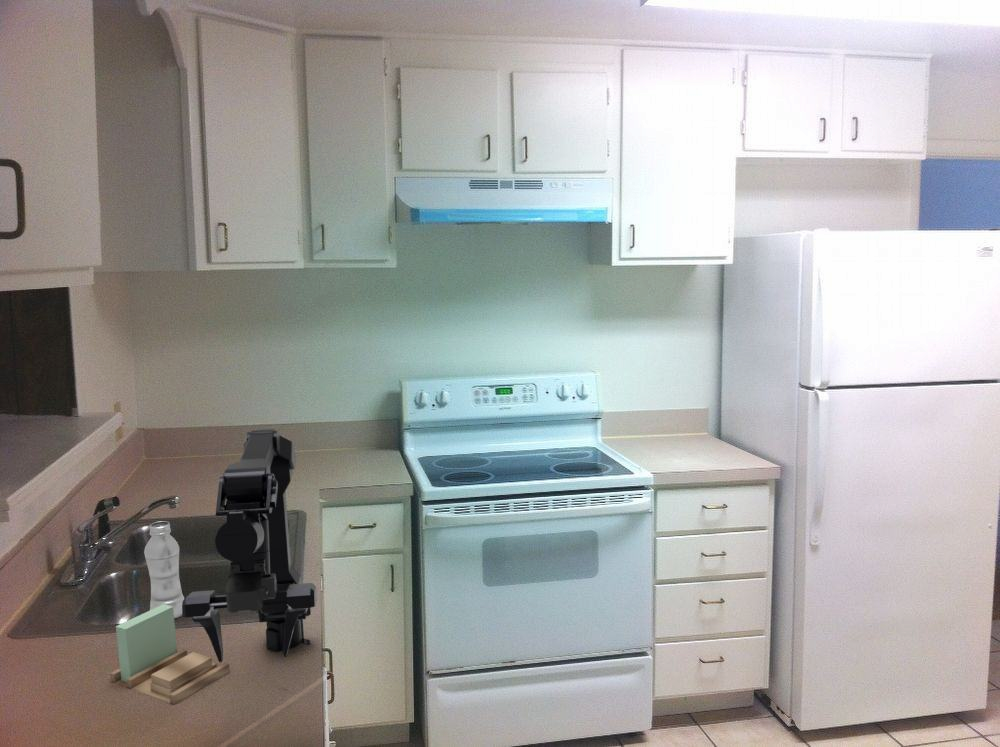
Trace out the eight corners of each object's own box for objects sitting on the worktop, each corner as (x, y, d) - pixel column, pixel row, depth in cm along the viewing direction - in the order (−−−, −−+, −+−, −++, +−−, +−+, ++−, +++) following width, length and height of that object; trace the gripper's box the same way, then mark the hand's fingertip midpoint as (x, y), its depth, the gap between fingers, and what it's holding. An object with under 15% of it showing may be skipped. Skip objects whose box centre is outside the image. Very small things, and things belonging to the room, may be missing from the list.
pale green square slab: (168, 655, 165) (163, 604, 163) (177, 658, 163) (173, 606, 162) (121, 680, 156) (115, 626, 154) (130, 683, 155) (125, 629, 153)
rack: (168, 656, 166) (167, 643, 166) (230, 676, 158) (229, 663, 158) (111, 686, 156) (110, 673, 156) (174, 709, 148) (173, 695, 148)
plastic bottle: (185, 623, 180) (176, 527, 176) (149, 627, 178) (139, 531, 175) (187, 609, 186) (179, 517, 183) (153, 614, 184) (143, 520, 181)
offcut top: (193, 659, 160) (193, 651, 159) (212, 665, 157) (211, 657, 157) (151, 682, 152) (150, 674, 152) (170, 689, 150) (169, 681, 150)
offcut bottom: (197, 665, 161) (196, 657, 161) (217, 671, 158) (216, 663, 158) (150, 691, 152) (150, 682, 152) (171, 698, 150) (170, 690, 150)
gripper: (172, 564, 125) (175, 679, 124) (309, 554, 127) (314, 667, 126) (188, 553, 136) (191, 659, 135) (314, 545, 138) (319, 648, 137)
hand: (253, 659), depth 133 cm, fingers open, 9 cm apart
